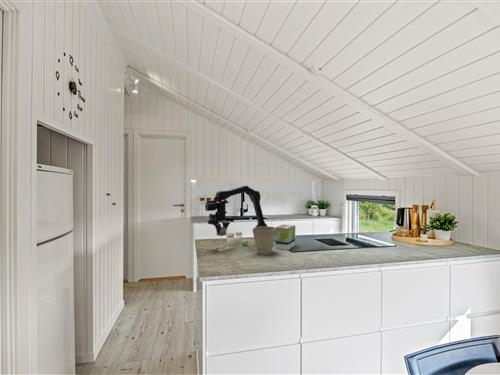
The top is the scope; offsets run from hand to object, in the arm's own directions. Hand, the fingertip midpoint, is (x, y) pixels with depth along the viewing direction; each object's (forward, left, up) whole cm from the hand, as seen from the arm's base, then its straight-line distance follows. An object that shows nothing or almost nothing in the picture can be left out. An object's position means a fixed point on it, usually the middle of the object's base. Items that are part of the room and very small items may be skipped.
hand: (221, 233), depth 189 cm
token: (0, 0, -1) cm, 1 cm away
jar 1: (+7, -16, -11) cm, 21 cm away
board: (+1, -3, -11) cm, 12 cm away
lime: (-2, -21, -11) cm, 24 cm away
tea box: (-28, -34, -11) cm, 45 cm away
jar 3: (+5, -22, -11) cm, 25 cm away
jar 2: (+3, -12, -11) cm, 17 cm away
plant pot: (-27, -12, -11) cm, 32 cm away
